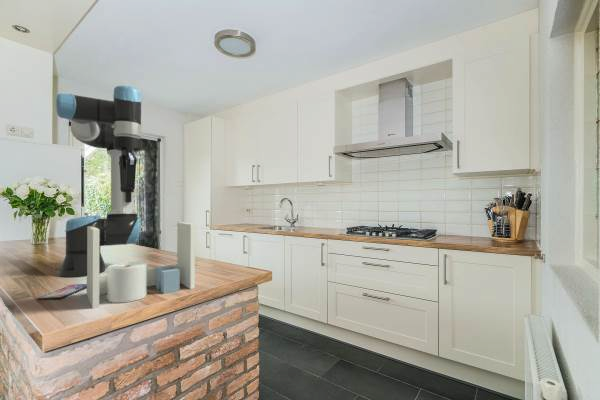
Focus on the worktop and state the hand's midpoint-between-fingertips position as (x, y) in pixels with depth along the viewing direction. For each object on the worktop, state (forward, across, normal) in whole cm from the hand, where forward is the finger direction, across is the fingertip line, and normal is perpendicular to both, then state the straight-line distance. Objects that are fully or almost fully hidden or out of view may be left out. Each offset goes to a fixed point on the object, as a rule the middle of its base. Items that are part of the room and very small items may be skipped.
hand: (127, 212), depth 93 cm
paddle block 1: (+26, -3, +12) cm, 29 cm away
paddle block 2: (+26, +3, +12) cm, 29 cm away
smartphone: (+27, -18, -14) cm, 35 cm away
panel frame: (+26, -2, +5) cm, 27 cm away
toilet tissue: (+27, 0, 0) cm, 27 cm away
